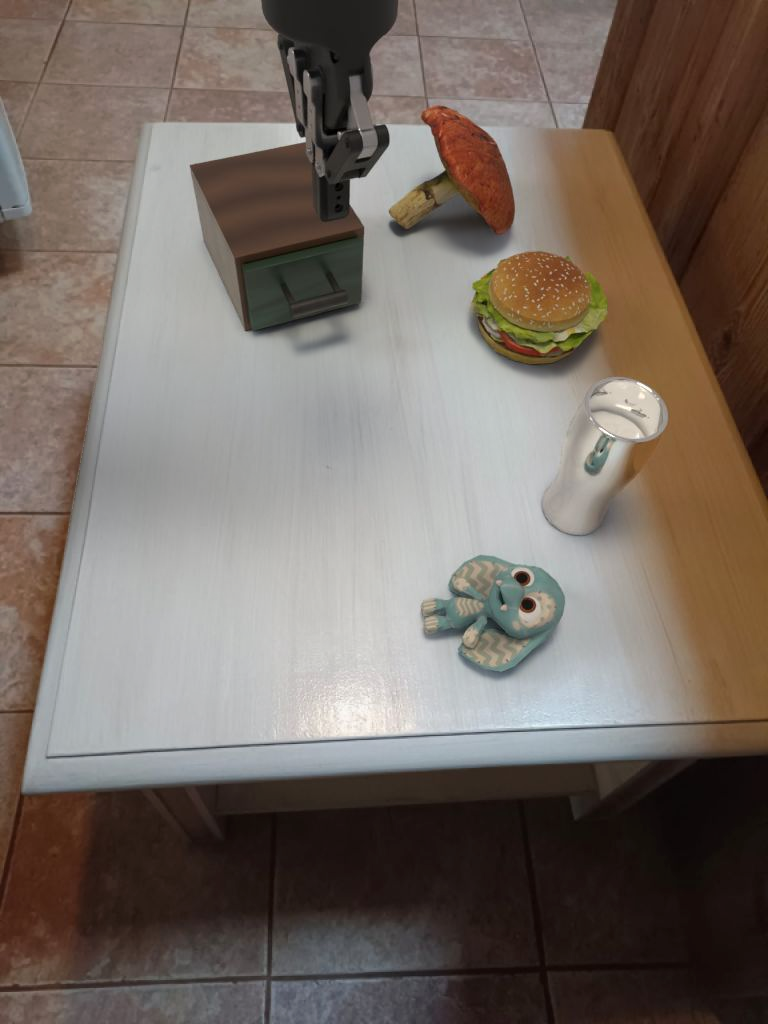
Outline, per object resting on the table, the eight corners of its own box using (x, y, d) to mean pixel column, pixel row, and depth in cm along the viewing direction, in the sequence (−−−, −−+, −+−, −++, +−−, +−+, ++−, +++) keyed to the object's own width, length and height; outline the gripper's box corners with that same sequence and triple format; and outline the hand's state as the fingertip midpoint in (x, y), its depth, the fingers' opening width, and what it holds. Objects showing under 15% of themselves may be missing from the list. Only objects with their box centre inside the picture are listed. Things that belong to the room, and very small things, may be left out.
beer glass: (550, 467, 72) (597, 362, 59) (617, 495, 70) (680, 394, 58) (526, 521, 68) (570, 422, 55) (596, 551, 67) (658, 457, 54)
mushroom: (384, 243, 81) (519, 219, 78) (364, 96, 78) (503, 65, 76) (403, 262, 96) (516, 243, 94) (386, 140, 94) (503, 116, 91)
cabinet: (361, 300, 82) (364, 227, 74) (245, 331, 79) (234, 257, 71) (312, 216, 90) (310, 140, 81) (203, 241, 86) (189, 164, 78)
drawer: (375, 328, 79) (379, 269, 72) (265, 358, 76) (258, 300, 69) (314, 222, 88) (312, 162, 81) (213, 245, 84) (202, 184, 78)
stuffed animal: (410, 538, 60) (554, 517, 60) (418, 575, 66) (548, 556, 66) (425, 662, 55) (584, 641, 54) (432, 689, 61) (575, 671, 60)
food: (514, 394, 76) (531, 340, 70) (447, 308, 83) (457, 250, 76) (617, 354, 80) (643, 299, 73) (546, 275, 86) (564, 217, 80)
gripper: (218, -129, 39) (250, 170, 53) (305, -14, 33) (315, 287, 47) (348, -141, 40) (345, 151, 55) (453, -35, 34) (418, 261, 49)
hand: (331, 214), depth 51 cm, fingers closed
